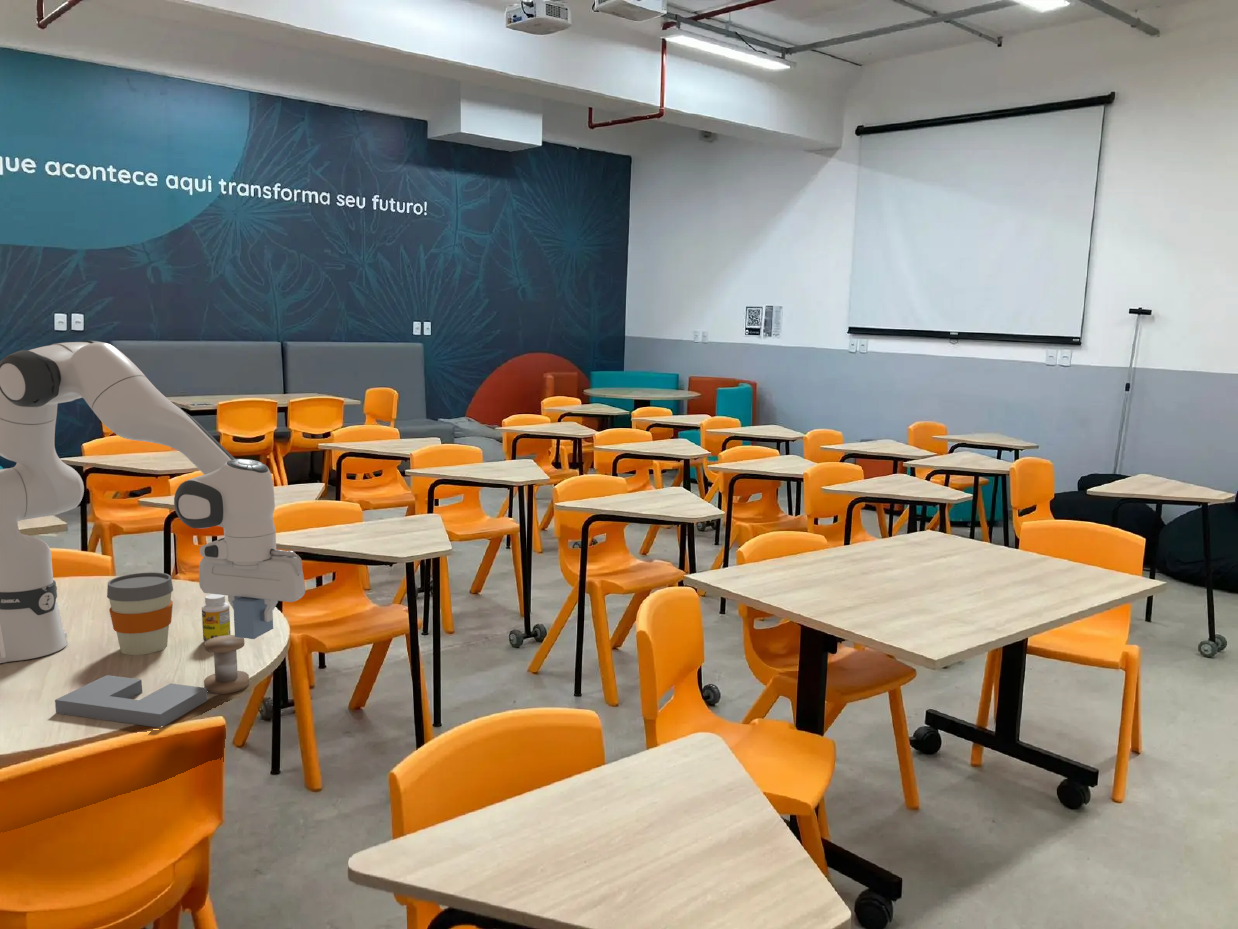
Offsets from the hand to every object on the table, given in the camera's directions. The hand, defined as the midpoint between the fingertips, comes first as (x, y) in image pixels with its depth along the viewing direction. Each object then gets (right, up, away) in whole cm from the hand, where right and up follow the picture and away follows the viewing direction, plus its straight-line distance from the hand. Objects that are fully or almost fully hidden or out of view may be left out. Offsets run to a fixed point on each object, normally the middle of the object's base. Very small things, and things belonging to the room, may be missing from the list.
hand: (253, 619), depth 172 cm
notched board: (-20, -15, -4) cm, 26 cm away
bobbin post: (-8, -14, +6) cm, 17 cm away
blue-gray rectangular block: (0, -3, 0) cm, 3 cm away
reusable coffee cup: (-34, -11, +25) cm, 44 cm away
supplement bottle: (-20, -10, +30) cm, 38 cm away
